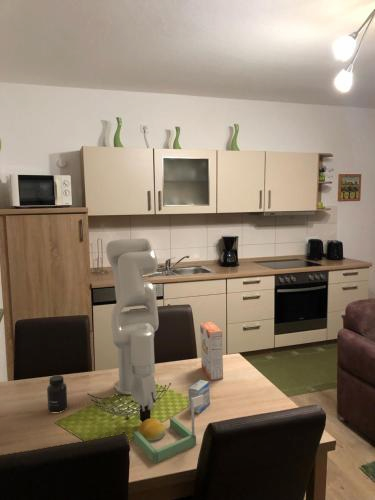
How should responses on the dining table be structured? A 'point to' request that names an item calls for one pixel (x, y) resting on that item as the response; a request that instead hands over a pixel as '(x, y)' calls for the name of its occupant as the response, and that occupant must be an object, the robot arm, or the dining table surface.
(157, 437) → the bread roll
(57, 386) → the supplement bottle
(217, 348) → the cracker box
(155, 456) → the green u-shaped frame
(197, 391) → the medicine box
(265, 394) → the dining table surface
